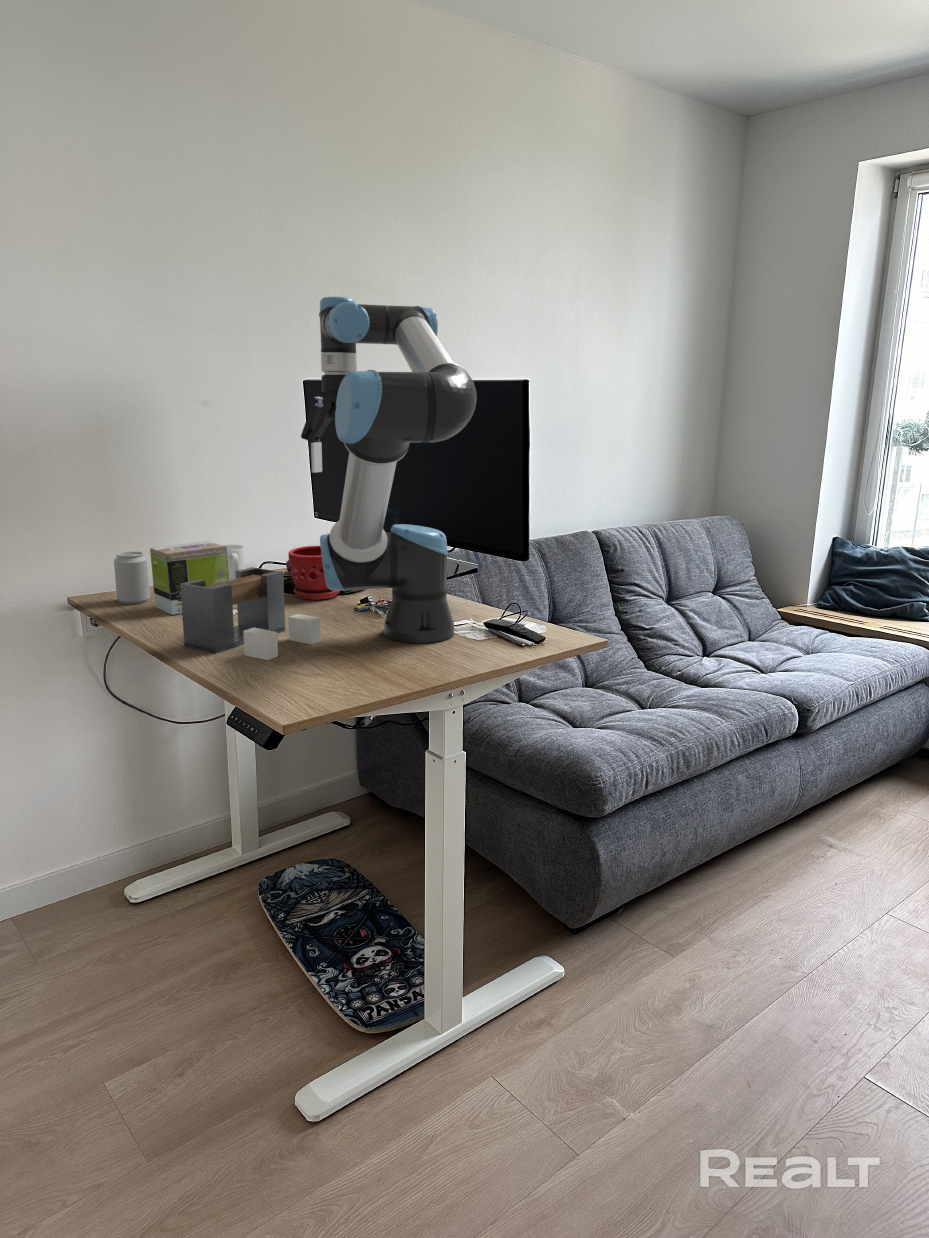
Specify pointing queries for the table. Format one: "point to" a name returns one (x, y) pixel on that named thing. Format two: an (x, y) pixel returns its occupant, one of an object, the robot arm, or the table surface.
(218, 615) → the brackets
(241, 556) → the mug
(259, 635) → the blocks
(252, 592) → the rail
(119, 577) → the can
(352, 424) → the robot arm
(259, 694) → the table surface
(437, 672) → the table surface
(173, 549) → the tea box
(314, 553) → the plant pot
